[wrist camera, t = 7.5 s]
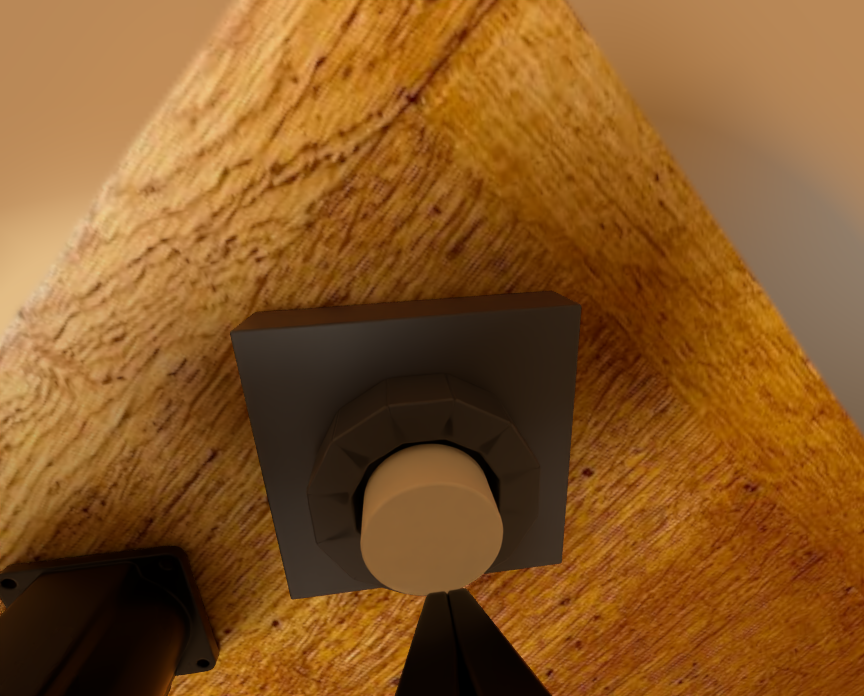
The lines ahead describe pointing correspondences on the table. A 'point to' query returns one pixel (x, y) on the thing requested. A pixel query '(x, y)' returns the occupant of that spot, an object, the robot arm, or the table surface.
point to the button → (429, 521)
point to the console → (409, 417)
